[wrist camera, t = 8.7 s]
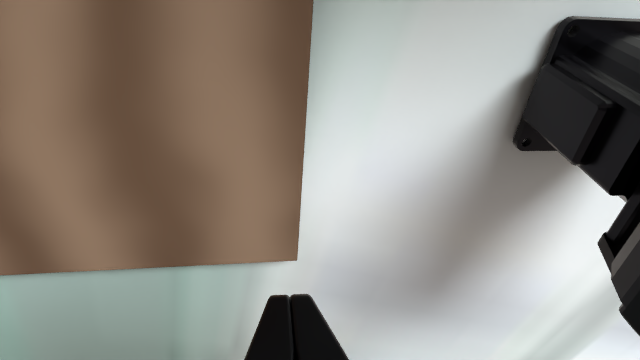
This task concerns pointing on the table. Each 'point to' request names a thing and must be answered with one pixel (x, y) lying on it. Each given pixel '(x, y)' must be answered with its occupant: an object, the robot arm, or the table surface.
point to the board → (151, 132)
